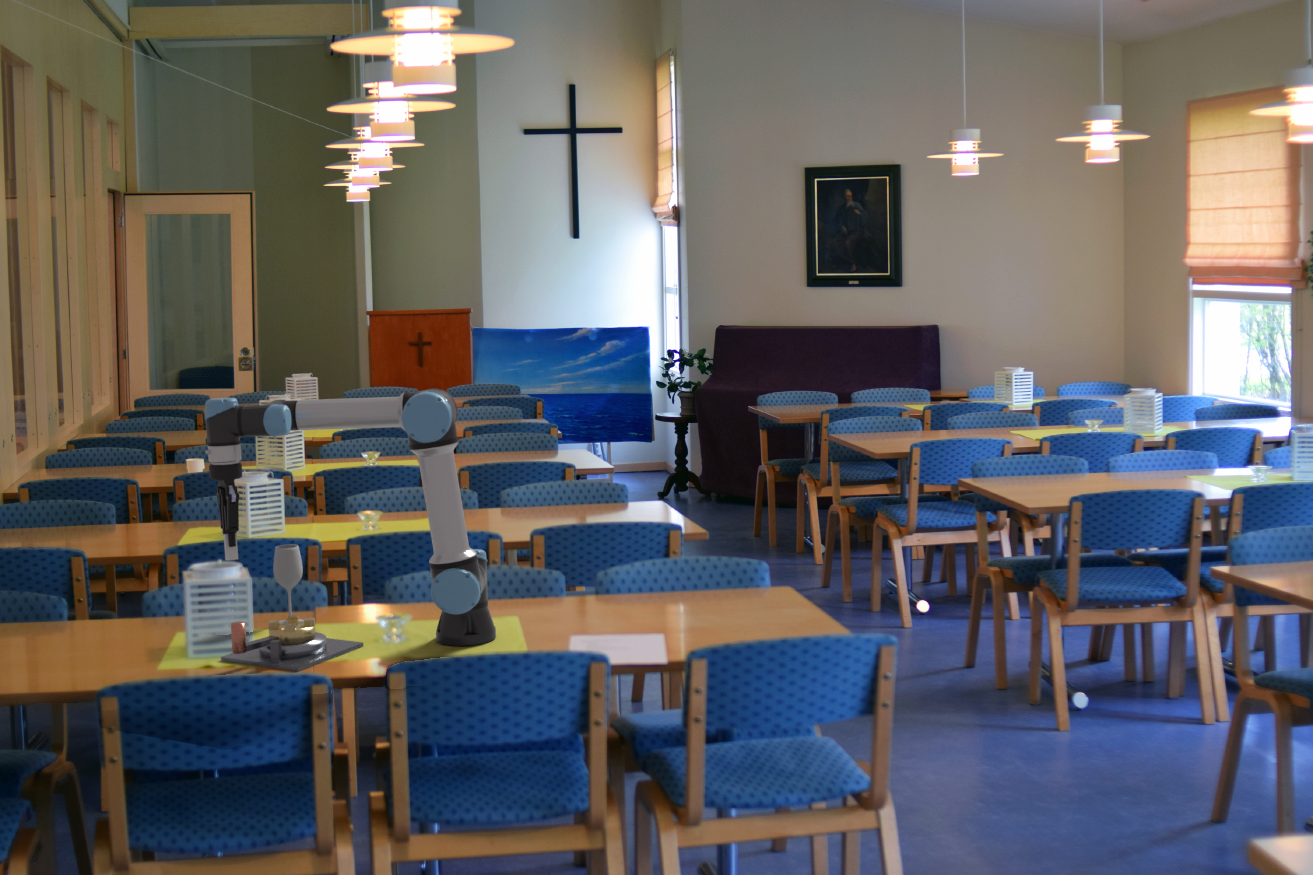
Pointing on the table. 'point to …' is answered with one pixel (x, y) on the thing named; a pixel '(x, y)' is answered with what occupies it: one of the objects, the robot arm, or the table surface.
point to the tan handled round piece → (274, 634)
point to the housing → (294, 653)
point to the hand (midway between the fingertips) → (231, 559)
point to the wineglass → (287, 569)
